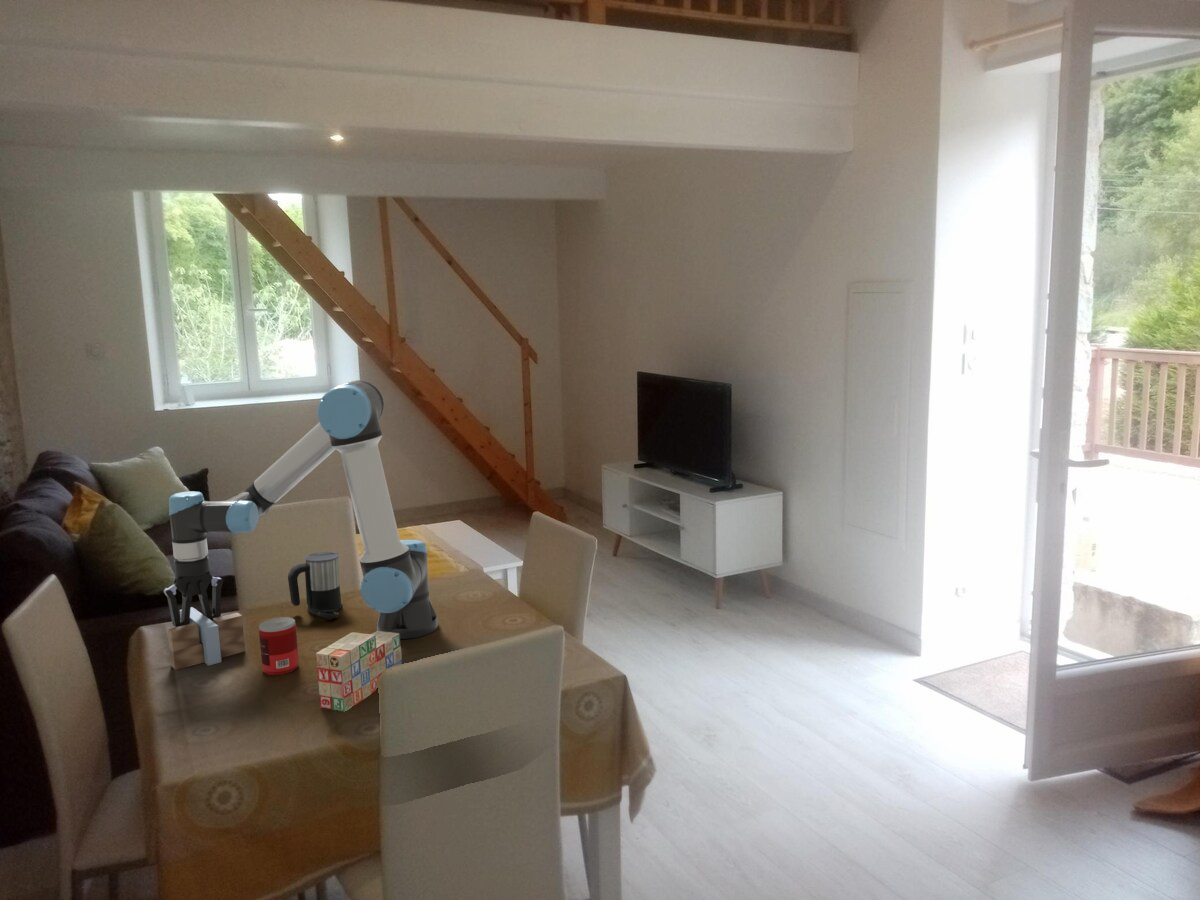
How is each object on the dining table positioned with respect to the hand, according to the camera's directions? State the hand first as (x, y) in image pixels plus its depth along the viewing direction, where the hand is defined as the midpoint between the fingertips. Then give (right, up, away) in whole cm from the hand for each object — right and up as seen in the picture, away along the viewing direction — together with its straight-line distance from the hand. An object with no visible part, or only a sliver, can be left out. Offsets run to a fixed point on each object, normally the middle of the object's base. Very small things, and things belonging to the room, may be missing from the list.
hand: (199, 650), depth 218 cm
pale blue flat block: (+1, 0, -1) cm, 1 cm away
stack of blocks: (+46, -4, -23) cm, 51 cm away
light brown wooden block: (+4, -1, -4) cm, 6 cm away
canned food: (+24, -2, -11) cm, 26 cm away
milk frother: (+23, +4, +26) cm, 34 cm away
